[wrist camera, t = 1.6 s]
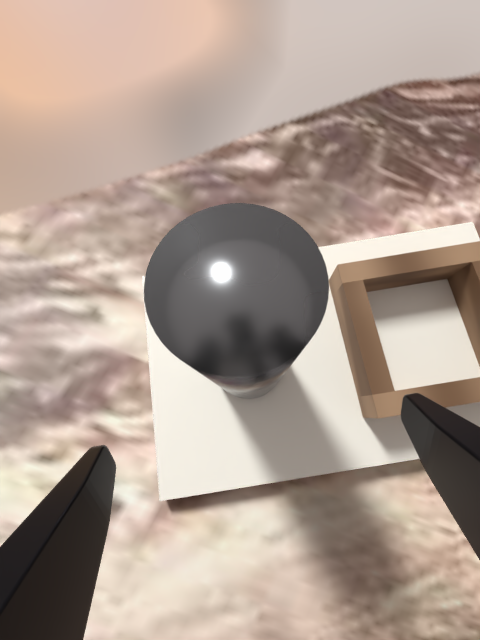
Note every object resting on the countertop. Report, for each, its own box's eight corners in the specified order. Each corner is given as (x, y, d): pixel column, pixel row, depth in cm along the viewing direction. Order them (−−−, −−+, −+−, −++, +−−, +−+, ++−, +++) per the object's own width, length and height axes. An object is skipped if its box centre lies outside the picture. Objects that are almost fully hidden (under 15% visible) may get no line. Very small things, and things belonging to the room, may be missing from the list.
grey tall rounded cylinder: (298, 365, 20) (369, 289, 7) (244, 414, 19) (224, 419, 7) (251, 315, 21) (243, 173, 8) (199, 359, 20) (107, 276, 8)
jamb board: (463, 229, 23) (472, 221, 22) (545, 434, 19) (561, 435, 18) (146, 282, 23) (142, 276, 22) (164, 496, 19) (159, 501, 18)
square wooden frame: (459, 259, 21) (484, 240, 19) (510, 393, 19) (547, 390, 16) (328, 281, 21) (337, 264, 19) (362, 417, 19) (378, 418, 17)
